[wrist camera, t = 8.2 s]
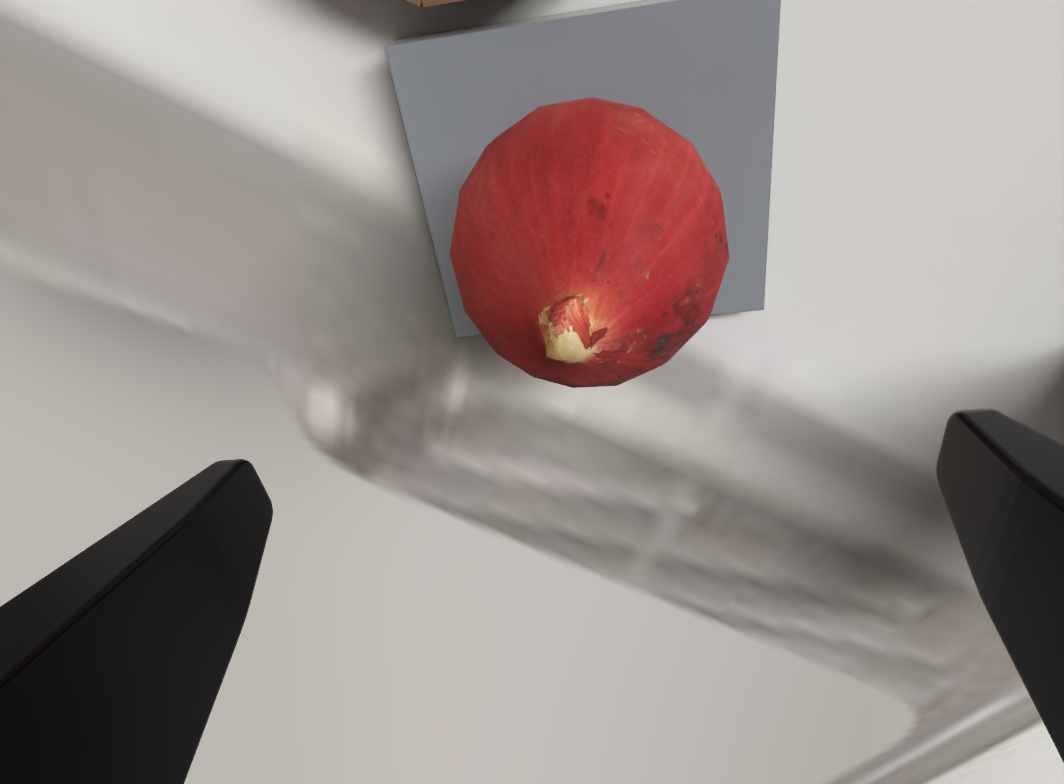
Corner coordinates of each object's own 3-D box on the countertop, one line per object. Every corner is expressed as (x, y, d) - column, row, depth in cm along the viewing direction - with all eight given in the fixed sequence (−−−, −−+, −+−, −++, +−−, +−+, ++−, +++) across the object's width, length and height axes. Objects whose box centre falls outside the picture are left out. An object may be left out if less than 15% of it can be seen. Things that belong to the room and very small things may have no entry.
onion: (758, 163, 17) (845, 323, 10) (615, 327, 20) (613, 529, 13) (564, 13, 15) (521, 87, 9) (444, 215, 18) (345, 381, 12)
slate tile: (771, -20, 15) (781, -17, 14) (756, 293, 20) (763, 309, 19) (395, 40, 17) (384, 46, 16) (461, 321, 21) (456, 337, 20)
